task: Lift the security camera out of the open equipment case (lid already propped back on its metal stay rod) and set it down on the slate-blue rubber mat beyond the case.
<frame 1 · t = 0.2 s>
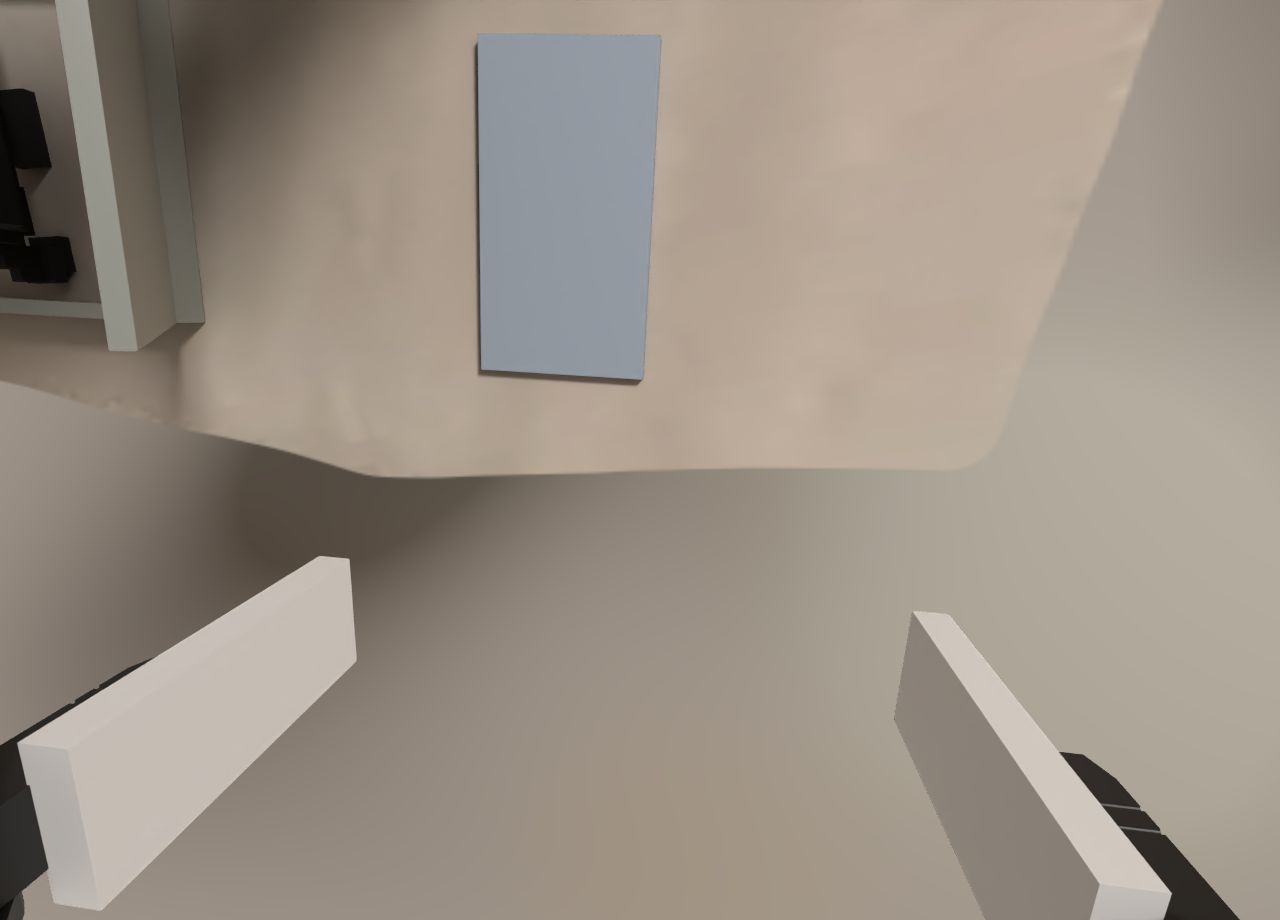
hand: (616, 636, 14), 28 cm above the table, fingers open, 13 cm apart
case: (30, 141, 41), on the table
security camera: (34, 144, 42), on the table
mat: (566, 216, 39), on the table
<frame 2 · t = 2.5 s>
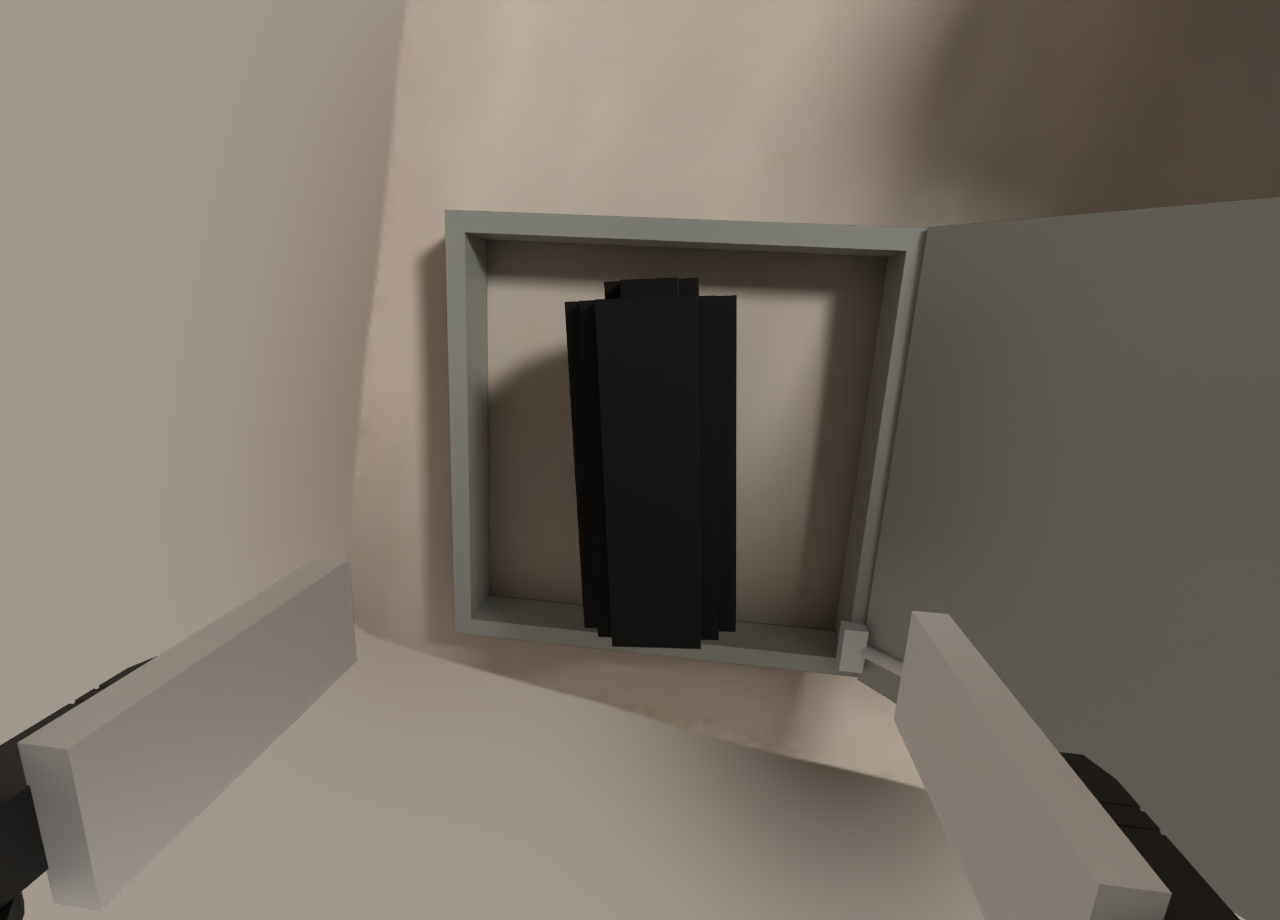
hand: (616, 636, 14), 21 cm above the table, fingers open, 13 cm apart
case: (668, 443, 34), on the table
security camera: (668, 455, 35), on the table
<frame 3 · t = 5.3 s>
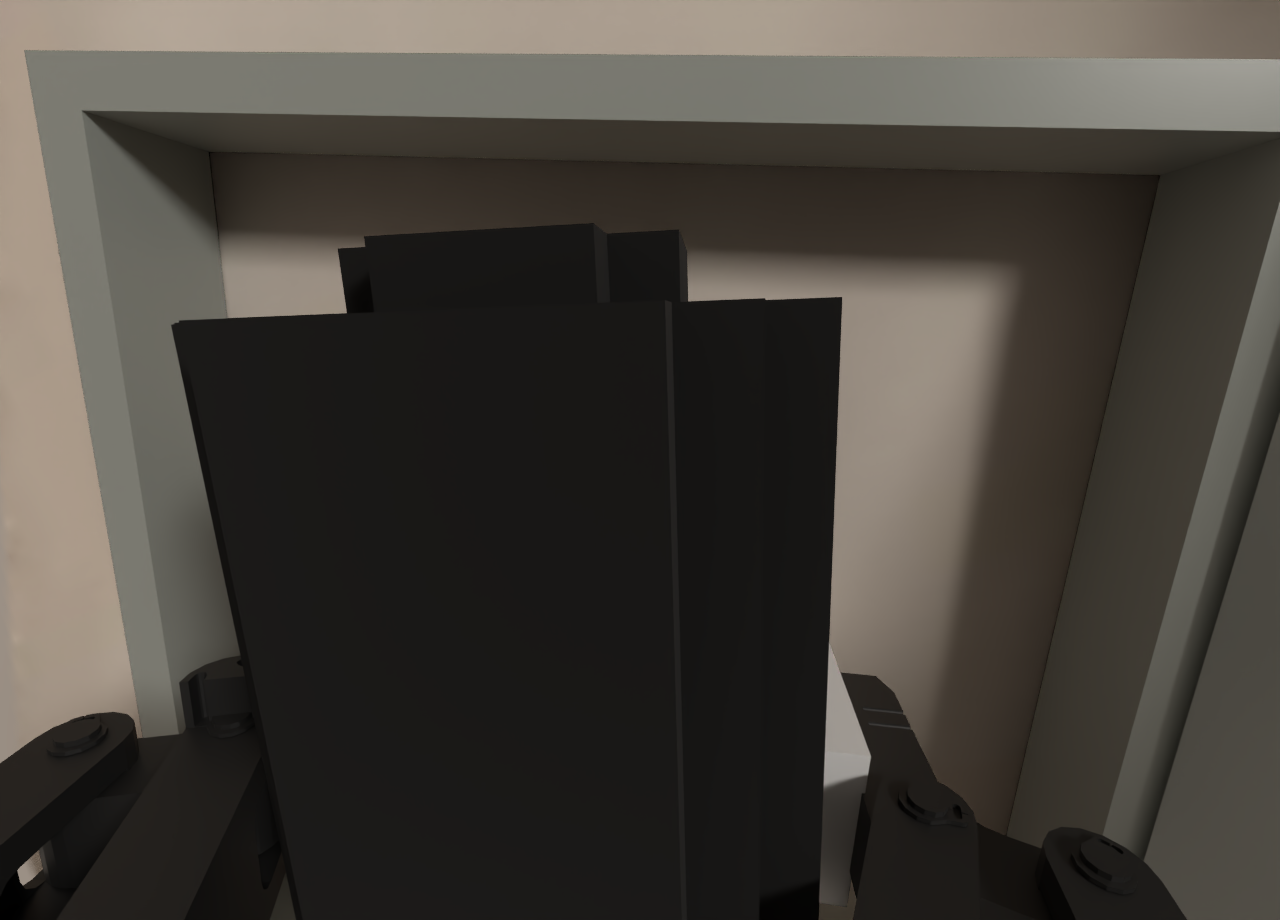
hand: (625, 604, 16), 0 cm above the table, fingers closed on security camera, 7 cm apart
case: (627, 598, 16), on the table
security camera: (630, 635, 16), on the table, touching case, gripper
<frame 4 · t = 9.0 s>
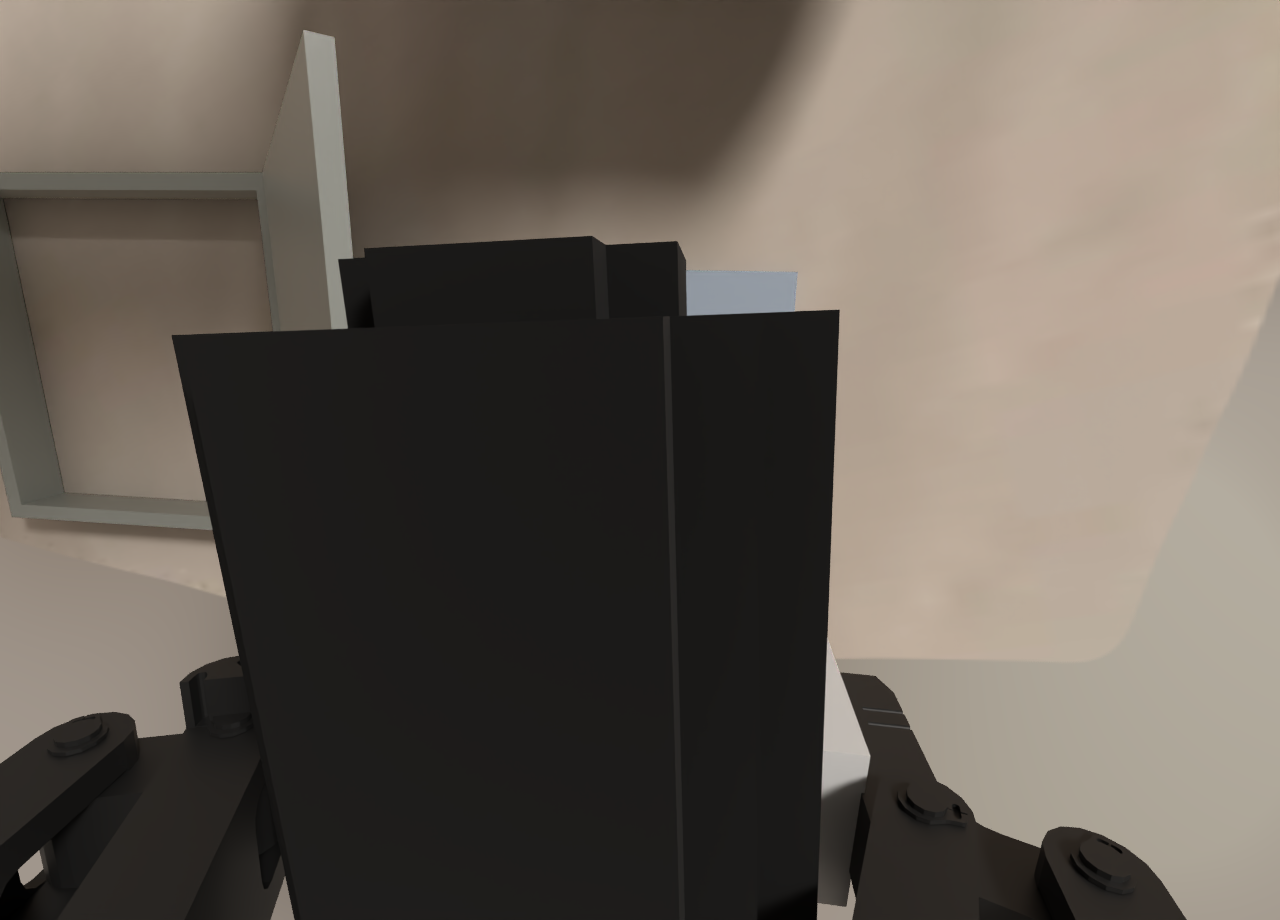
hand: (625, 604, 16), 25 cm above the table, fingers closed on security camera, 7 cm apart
case: (167, 358, 43), on the table
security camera: (629, 639, 16), point 25 cm above the table, touching gripper
mat: (697, 430, 40), on the table
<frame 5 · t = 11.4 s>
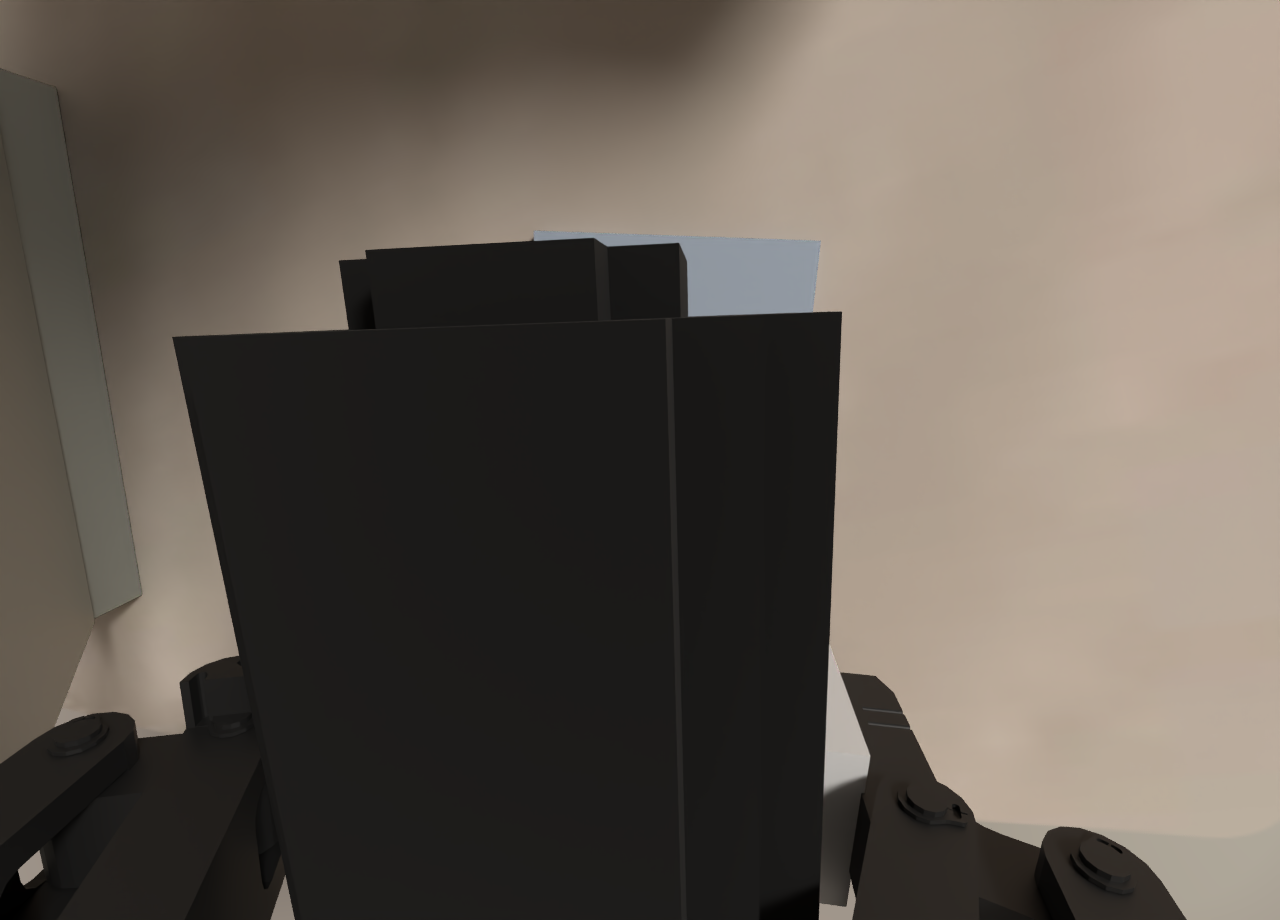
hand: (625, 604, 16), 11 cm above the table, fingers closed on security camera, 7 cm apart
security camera: (630, 640, 16), point 11 cm above the table, touching gripper
mat: (661, 482, 26), on the table
when the fingers open (2 cm above the table, at t = 13.2 s): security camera drops 1 cm, resting on mat.
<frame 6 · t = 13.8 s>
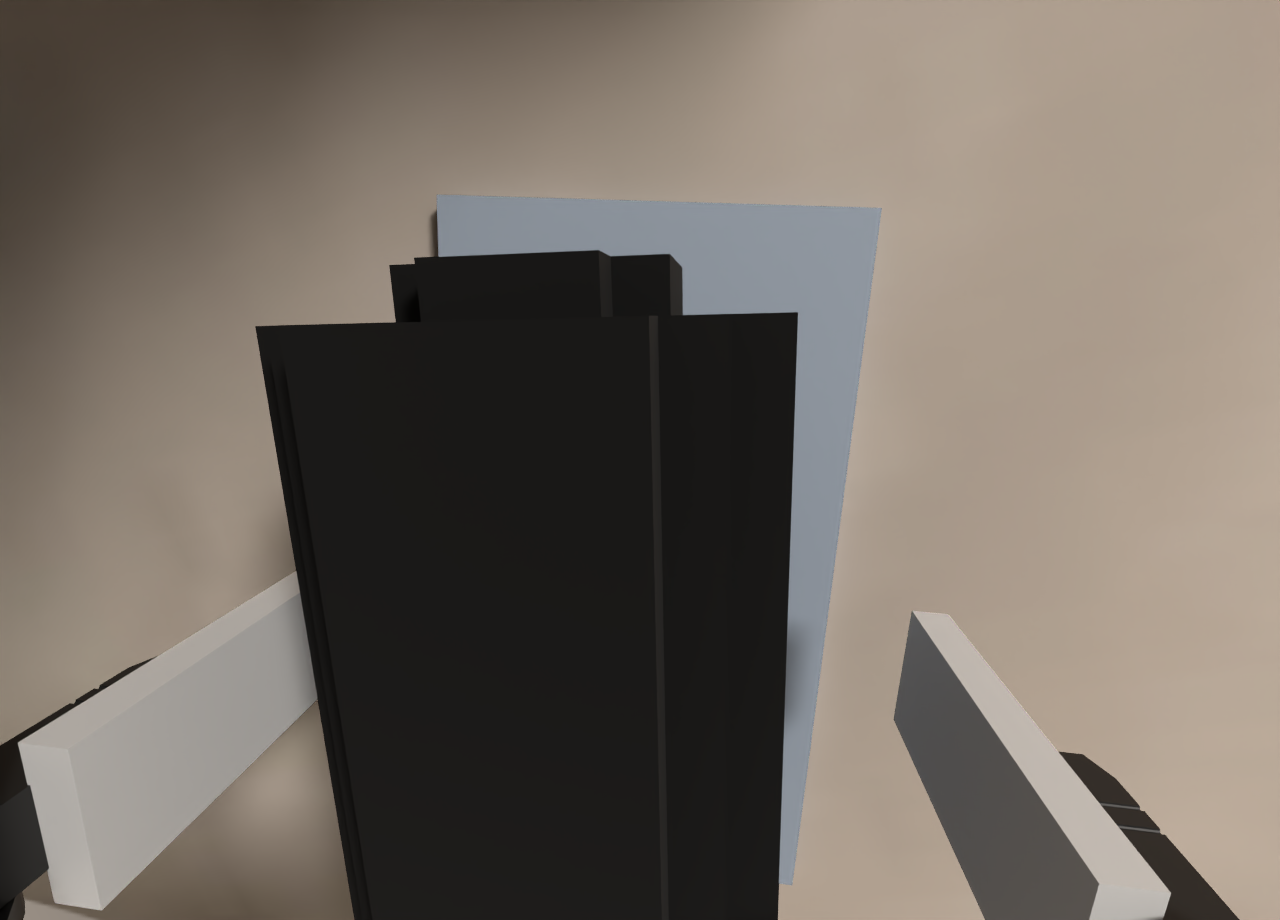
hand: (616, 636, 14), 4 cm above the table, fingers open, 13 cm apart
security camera: (632, 613, 18), resting on mat
mat: (635, 568, 18), on the table
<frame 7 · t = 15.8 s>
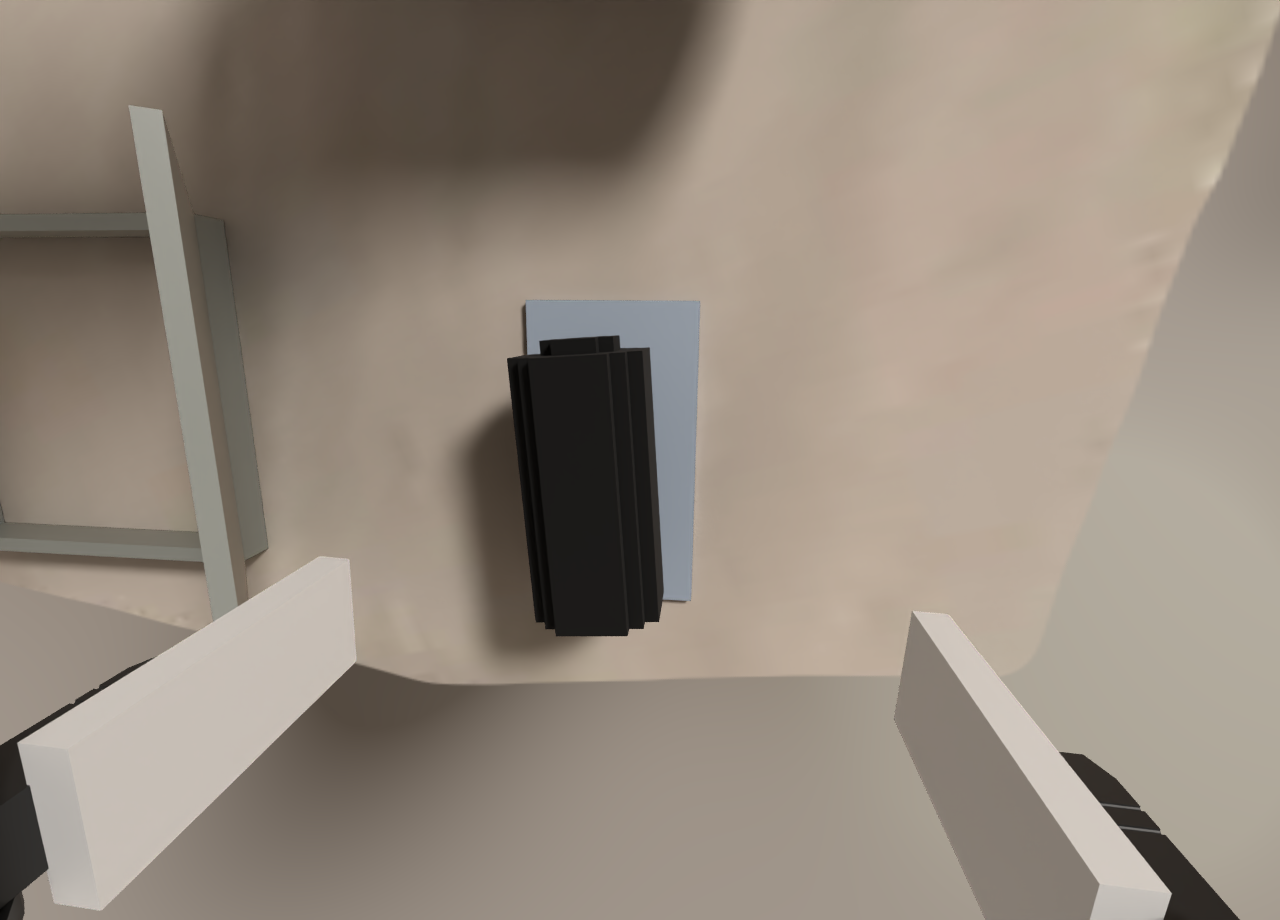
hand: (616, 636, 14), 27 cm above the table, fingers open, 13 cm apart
case: (99, 390, 44), on the table
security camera: (612, 475, 41), resting on mat
mat: (613, 454, 41), on the table
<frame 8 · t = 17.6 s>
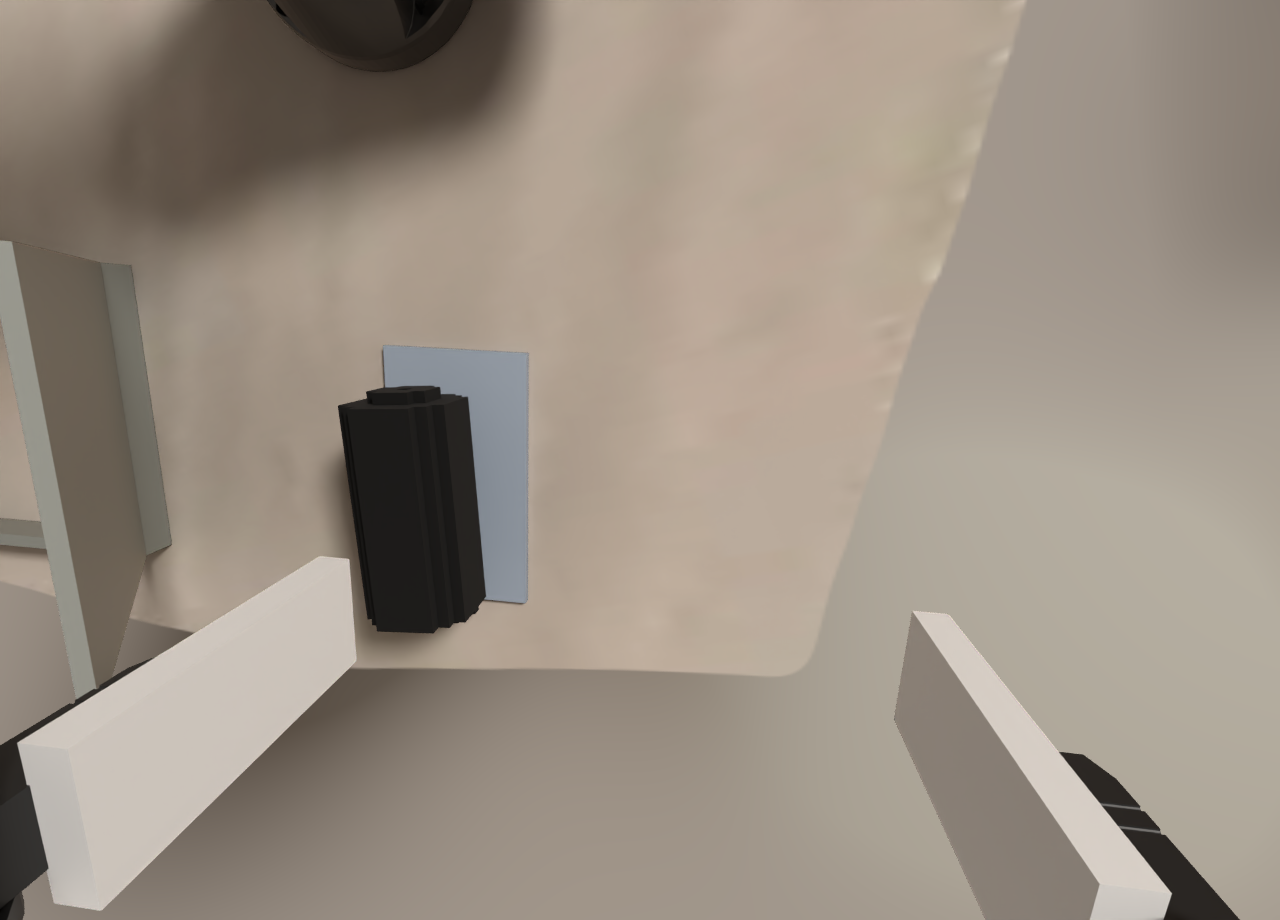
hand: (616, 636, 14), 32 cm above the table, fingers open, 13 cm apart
case: (26, 403, 51), on the table
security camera: (459, 496, 48), resting on mat
mat: (460, 477, 48), on the table
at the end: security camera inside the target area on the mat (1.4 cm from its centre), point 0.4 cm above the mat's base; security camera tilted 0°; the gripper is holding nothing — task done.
